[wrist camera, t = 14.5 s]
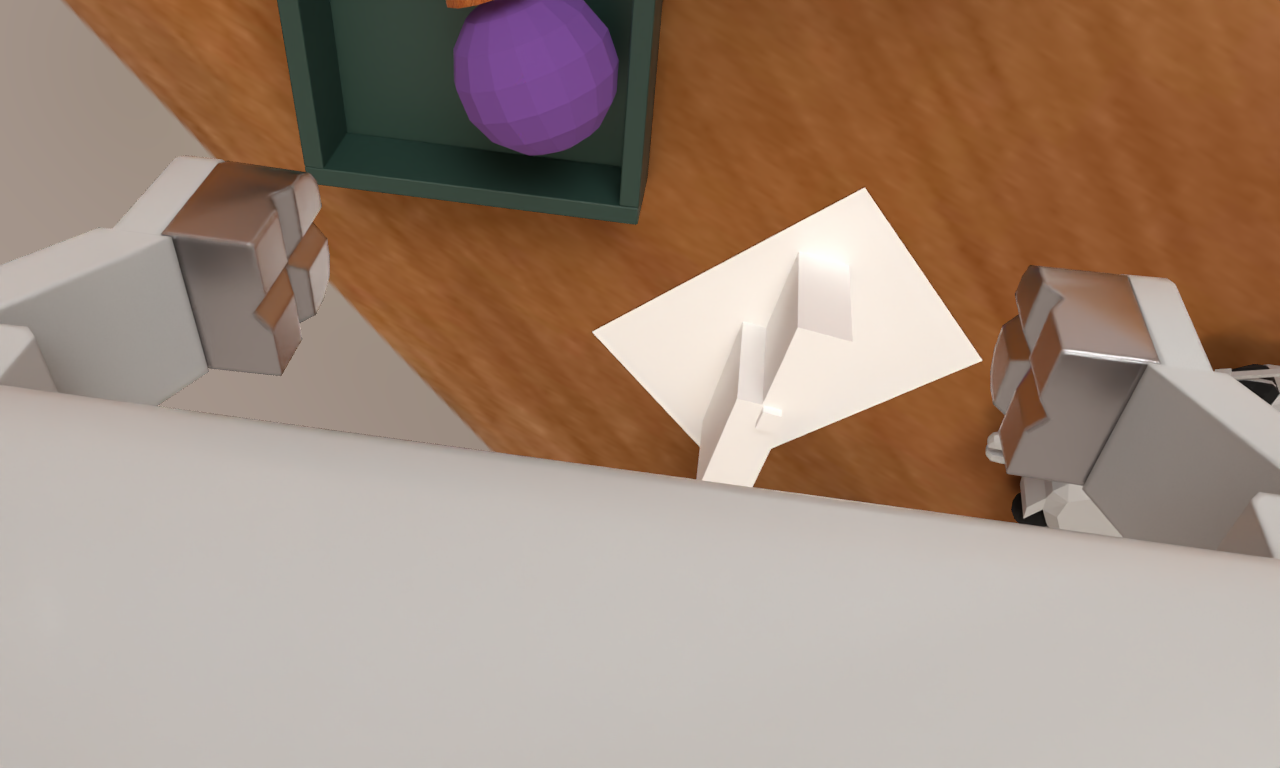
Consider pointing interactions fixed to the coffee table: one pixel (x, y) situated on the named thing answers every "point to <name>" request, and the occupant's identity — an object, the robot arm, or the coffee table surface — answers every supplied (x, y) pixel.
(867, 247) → the napkin holder
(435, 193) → the tray
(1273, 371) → the robot toy
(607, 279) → the coffee table surface
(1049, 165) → the coffee table surface
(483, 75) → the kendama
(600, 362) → the coffee table surface
